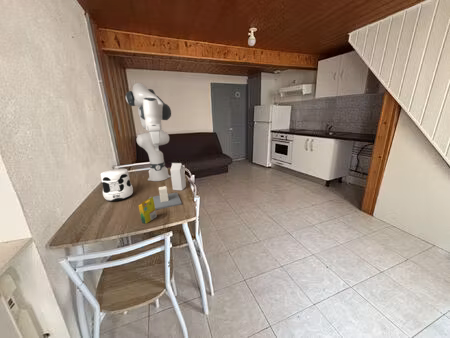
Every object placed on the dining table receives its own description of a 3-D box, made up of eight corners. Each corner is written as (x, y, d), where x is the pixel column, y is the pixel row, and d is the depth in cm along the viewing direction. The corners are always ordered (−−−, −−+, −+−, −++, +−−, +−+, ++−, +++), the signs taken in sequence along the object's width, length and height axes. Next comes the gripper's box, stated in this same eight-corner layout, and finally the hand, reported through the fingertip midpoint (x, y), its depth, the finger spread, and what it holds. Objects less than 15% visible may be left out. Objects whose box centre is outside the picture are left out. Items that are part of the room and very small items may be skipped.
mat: (148, 198, 121) (148, 197, 120) (177, 193, 127) (177, 192, 127) (149, 211, 105) (148, 209, 104) (181, 204, 111) (181, 202, 111)
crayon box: (152, 215, 100) (149, 195, 96) (157, 216, 98) (153, 196, 95) (141, 223, 93) (137, 201, 90) (145, 224, 92) (141, 202, 89)
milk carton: (182, 190, 132) (179, 164, 127) (172, 190, 134) (169, 164, 128) (186, 186, 139) (183, 161, 134) (177, 186, 140) (174, 161, 135)
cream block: (160, 199, 117) (158, 187, 115) (167, 197, 118) (166, 186, 116) (160, 202, 113) (158, 189, 111) (168, 200, 114) (166, 188, 112)
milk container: (124, 190, 137) (119, 167, 132) (139, 195, 128) (134, 169, 123) (99, 200, 123) (92, 173, 118) (114, 205, 114) (107, 177, 109)
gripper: (147, 125, 120) (150, 147, 124) (148, 128, 102) (151, 153, 106) (158, 125, 122) (160, 146, 126) (160, 127, 104) (163, 152, 108)
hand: (156, 149), depth 116 cm, fingers open, 8 cm apart
